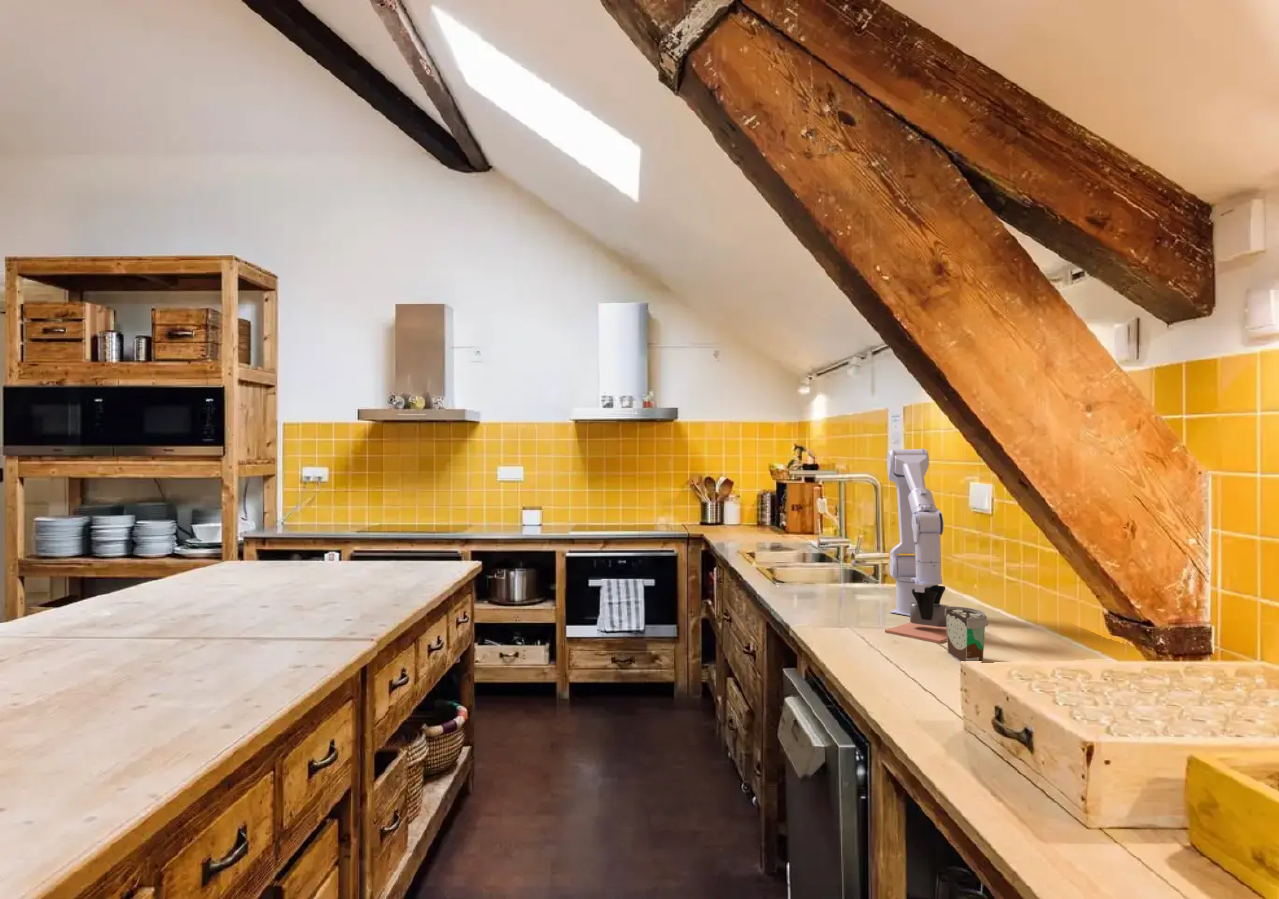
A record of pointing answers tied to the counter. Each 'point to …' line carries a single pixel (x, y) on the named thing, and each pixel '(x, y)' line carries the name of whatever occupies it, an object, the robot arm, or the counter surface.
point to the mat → (920, 632)
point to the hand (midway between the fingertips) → (929, 617)
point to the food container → (965, 633)
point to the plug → (937, 615)
